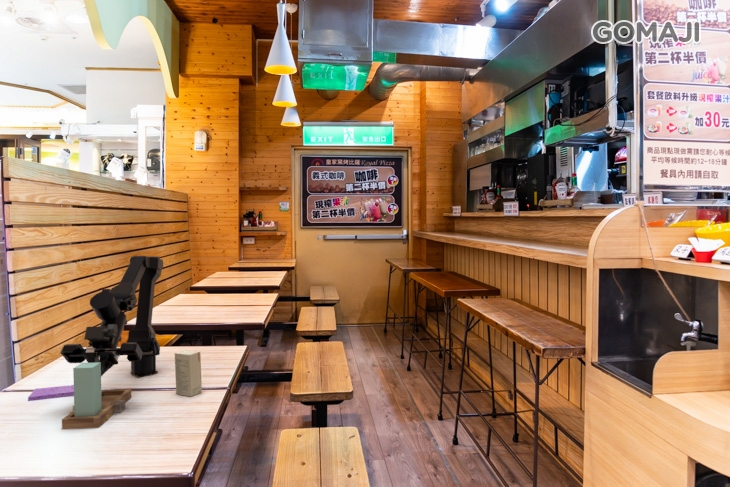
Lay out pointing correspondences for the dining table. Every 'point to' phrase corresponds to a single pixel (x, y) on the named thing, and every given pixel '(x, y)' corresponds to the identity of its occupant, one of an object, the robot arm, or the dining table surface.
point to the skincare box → (188, 372)
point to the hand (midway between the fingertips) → (92, 382)
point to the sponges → (51, 392)
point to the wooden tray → (110, 405)
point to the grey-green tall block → (87, 389)
